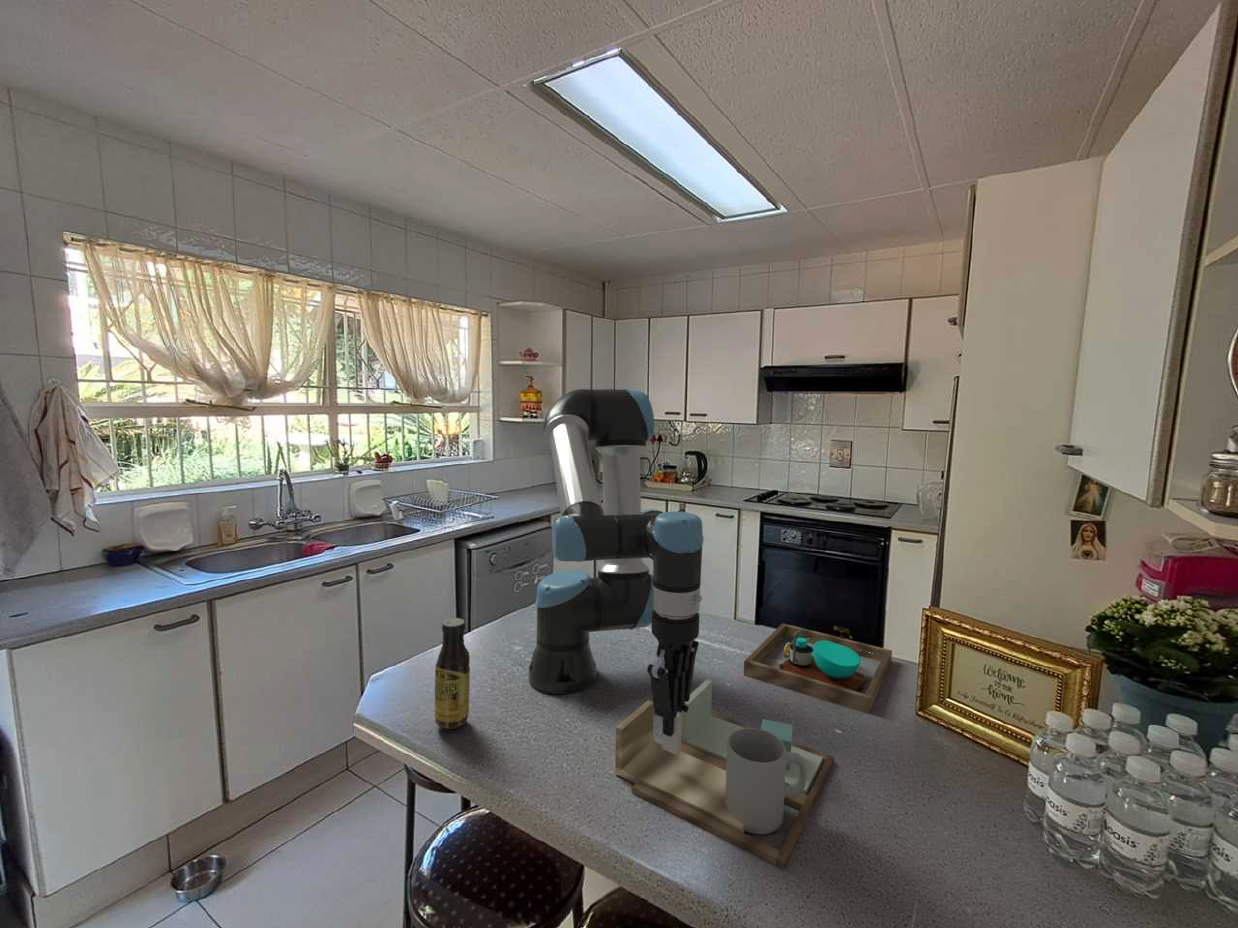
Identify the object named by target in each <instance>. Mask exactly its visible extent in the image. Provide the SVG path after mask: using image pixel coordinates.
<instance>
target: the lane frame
mask: <svg viewBox="0 0 1238 928" xmlns="http://www.w3.org/2000/svg"><path fill="white" fill-rule="evenodd" d="M711 716H713V717H716V718H719V719H721V720H724V721H727V722H729V723H732V724H735V725H737V726H740V727H743V728H755V727H753V726H750V725H747V724H745V723H743V722H739V721H737V720H735V719H732V718H728V717H726V716H723V715H721V714H717V713H716V712H713V711H711ZM791 746H794V747H797V748H799V749H802V750H805V751H807V752H810V753H813V754H815V755H818V756H821V757H823V763H822V766H821V768H820V770H819V772H818V774H817V776H816V778H815V780H814V782H813V784H812V786H811V788H810V790H809V792H808V794H807V795H806V794H804V793H801V794H799V795H797V796H794V797H785V798H784V804H786V805H788V806H791V807H793V808H795V809H797V810H799V812H798V814H797V816H796V818H795V820H794V822H793V824H792V825H791V828H790V830H789V832H788V833H787V836H786V838H785V839H784V842H783V844H782V846H781V848H780V850H779V849H777V848H775V847H773V846H771V845H769V844H766V843H764V842H762V841H760V840H759V839H756V838H755V837H753V836H750V835H748V834H746V833H745V832H744V833H742V832H740V831H738V830H736V829H734V828H732V827H730V826H728V825H726V824H724V823H722V822H720V821H718V820H716V819H714V818H711V817H709V816H707V815H705V814H703V813H701V812H699V811H697V810H695V809H693V808H691V807H689V806H687V805H685V804H683V803H681V802H679V801H677V800H675V799H672V798H670V797H668V796H666V795H664V794H662V793H660V792H658V791H656V790H654V789H652V788H650V787H648V786H646V785H644V784H642V783H640V782H638V781H637V782H636V783H633V785H632V786H631V793H632V794H634V795H636V796H638V797H640V798H642V799H643V800H646V801H648V802H650V803H651V804H654V805H655V806H658V807H660V808H661V809H663V810H666V811H668V812H670V813H671V814H674V815H676V816H678V817H679V818H682V819H683V820H685V821H688V822H689V823H691V824H693V825H696V826H697V827H699V828H701V829H703V830H705V831H707V832H709V833H711V834H714V835H715V836H717V837H719V838H722V839H723V840H725V841H727V842H729V843H731V844H734V845H735V846H737V847H738V848H741V849H743V850H745V851H748V852H749V853H751V854H752V855H754V856H757V857H759V858H761V859H763V860H765V861H767V862H769V863H771V864H772V865H774V866H777V867H779V868H781V869H783V870H784V869H785V866H786V865H787V862H788V860H789V858H790V855H791V853H792V851H793V849H794V846H795V844H796V843H797V841H798V839H799V837H800V834H801V832H802V830H803V829H804V825H805V823H806V822H807V820H808V817H809V815H810V813H811V811H812V809H813V808H814V805H815V803H816V801H817V798H818V796H819V794H820V793H821V790H822V788H823V785H824V784H825V781H826V780H827V777H828V775H829V773H830V771H831V769H832V767H833V765H834V763H835V760H834V759H835V757H834V756H833V755H830V754H827V753H824V752H821V751H818V750H816V749H813V748H810V747H807V746H805V745H803V744H799V743H796V742H794V741H792V745H791ZM680 751H681V752H683V753H686V754H688V755H690V756H693V757H695V758H697V759H700V760H702V761H704V762H707V763H709V764H711V765H714V766H716V767H718V768H721V769H723V770H725V771H726V761H725V760H722V759H720V758H717V757H715V756H713V755H710V754H708V753H705V752H703V751H701V750H698V749H696V748H693V747H691V746H689V745H686V744H684V743H681V750H680Z"/></svg>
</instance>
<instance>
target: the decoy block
mask: <svg viewBox="0 0 1238 928" xmlns="http://www.w3.org/2000/svg"><path fill="white" fill-rule="evenodd" d="M793 727H794V725H793V724H789V723H784V722H779V721H775V720H770V719H765V718H762V721H761V727H760V729H761V730H765V731H767V732H770V733H772V734H773V735H775V736H776V737H778V738H779V739H780V740H781V741H782V742H783V744H784V746H785V749H786V752H791V745H792V742H793ZM786 770H790V764H789V765H786Z"/></svg>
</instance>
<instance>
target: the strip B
mask: <svg viewBox="0 0 1238 928" xmlns="http://www.w3.org/2000/svg"><path fill="white" fill-rule="evenodd" d="M712 703H713V680H710V679H709V678H708V679H705V680H704V681H703V682H702V683H701V684H700V685H698V687H697V688H695V689H694V691H692V692H690V699H689V701H688V702H685V706H688V707H689V709H688V711H687V712H684V711H682V729H681V743H684V744H686V745H689V746H691V747H693V748H696V749H698V750H701V751H703V752H705V753H708V754H710V755H713V756H715V757H717V758H720V759H722V760H725V761H726V760H727V741H728V738H729V736H730V735H731V734H732V733H733V732H734V731H736V730H739V729H744V728H743V727H740V726H737V725H735V724H732V723H729V722H727V721H724V720H721V719H719V718H716V717H713V716H711V712H712ZM791 752H795V753H798V754H800V755H801V756H802V757H803V758H804V761H805V763H806V769H807V779H806V785H805V788H804V790H803V792H802V793H804V794H806V795H808V794H809V792H810V790H811V788H812V786H813V784H814V782H815V780H816V778H817V776H818V774H819V772H820V770H821V768H822V766H823V764H822V763H823V757H821V756H818V755H815V754H813V753H810V752H807V751H805V750H802V749H799V748H797V747H794V746H791ZM799 772H800V771H799V765H798V764H790V770H785V785H792V784H795V783H796V782H797V780H798V778H799Z"/></svg>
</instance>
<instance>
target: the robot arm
mask: <svg viewBox="0 0 1238 928" xmlns="http://www.w3.org/2000/svg"><path fill="white" fill-rule="evenodd" d="M654 429H655V416H654V410H653V406H652V403H651V401H650V398H649V397H648V395H647V394H646V393H645V392H644V391H642V390H633V389H627V388H625V389H612V388H611V389H610V388H609V389H607V388H605V389H604V388H603V389H600V388H599V389H592V388H591V389H590V388H589V389H588V388H579V389H575V390H571V391H568V392H567V393H565V394H563V395H562V396H560V397H559V398H558V399H556V401H555V402H553V404H552V405H551V407H550V408H549V409H548V411H547V413H546V415H545V418H544V422H543V434H544V435H543V437H544V440H545V443H546V444H547V445H548V447H549V448H550V451H551V457H552V464H553V470H554V479H555V484H556V491H557V497H558V498H557V499H558V505H559V512H560V516H557V517H555V518H553V520H552V524H551V541H552V543H551V544H552V546H551V547H552V554H553V556H554V557H553V558H554V559H555V560H557V561H558V562H575V563H576V562H578V563H582V562H589V561H590V562H591V561H603V562H602V564H601V565H600V566H598V568H597V577H591V576H590V574H589V572H587V571H584V570H582V569H580V570H577V569H569V570H568V569H566V570H561V571H560V570H559V571H557V572H556V571H555V572H554V573H550V574H549V575H547V576H545V577H543V578H542V579H541V580H540V581H539V582H538V584H537V587H536V598H535V606H536V645H535V648H534V652H533V654H532V657H531V661H530V662H529V663H530V664H529V666H528V682H529V684H530V685H531V687H532V688H534V689H536V690H538V691H539V692H542V693H545V694H550V693H551V694H552V695H569V694H575V693H578V692H581V691H585V690H586V689H588V688H590V687H591V686H592V685H593V684H594V683H595V682H596V680H597V671H598V670H597V662H596V661H595V660H594V655H593V652H592V649H591V646H590V633H593V632H606V631H620V630H629V631H630V630H631V631H632V630H634V629H642V628H646V627H648V626H650V625H651V633H652V635H653V636H654V638H655V639H656V640H657V642H658V645H657V647H656V648H657V649H656V658H657V659H656V661H655V662H654V664H652V663H649V664H648V665H647V671H646V672H647V673H648V675H649V677H650V684H651V693H652V700H653V701H652V702H653V703H654V714H655V715H656V716H658V717H661V718H662V726H661V727H662V730H661V733H662V734H661V743H662V749H664V750H666V751H669V752H671V753H673V754H675V755H677V754H678V753H679V752H680V750H681V729H682V711H684V712H687V711H688V709H689V707H688V706H685V702H688V701H689V699H690V694H691V693H692V692H691V690H692V685H693V677H694V671H695V670H694V669H695V663H696V662H695V661H696V655H697V652H698V649H699V641H697V640H696V639H697V638H698V637H699V634H700V613H699V611H700V605H701V602H702V599H703V597H702V596H701V583H702V561H703V544H704V535H703V532H704V531H703V521H702V518H701V517H700V516H698V515H697V514H695V513H689V512H686V511H685V512H684V511H666V512H665V511H664V512H663V511H661V510H658V509H654V508H652V509H651V508H650V509H645V510H643V511H642V502H641V501H642V499H641V497H642V496H641V493H642V492H641V463H640V462H641V460H640V459H641V455H642V453H643V452H644V451H645V450H646V449H647V442H649V441H651V440H652V439H653V437H654V434H655V433H654V432H655V430H654ZM589 441H590V442H591V441H592V442H594V441H595V445H594V446H595V450H596V451H597V452H598V453H599V454H600V455H601V458H602V459H601V461H602V499H601V496H600V491H599V486H598V482H597V479H596V475H595V470H594V467H593V462H592V457H591V453H590V448H589V445H588V442H589ZM602 501H603V502H602ZM602 503H603V504H602ZM643 559H651V560H652V564H653V565H652V574H651V573H650V567H648V565H647V564H646V563H644V562H643ZM594 681H595V682H594ZM589 686H590V687H589ZM655 715H654V716H655Z"/></svg>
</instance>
